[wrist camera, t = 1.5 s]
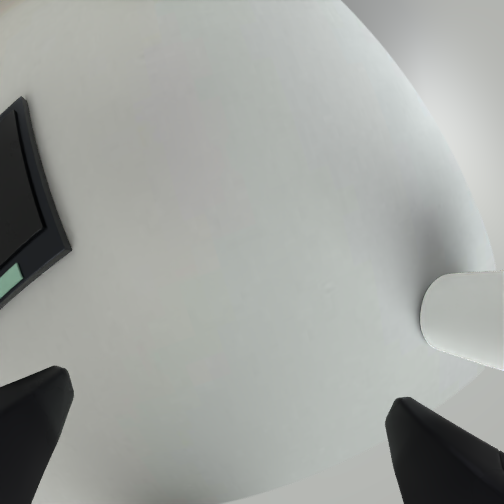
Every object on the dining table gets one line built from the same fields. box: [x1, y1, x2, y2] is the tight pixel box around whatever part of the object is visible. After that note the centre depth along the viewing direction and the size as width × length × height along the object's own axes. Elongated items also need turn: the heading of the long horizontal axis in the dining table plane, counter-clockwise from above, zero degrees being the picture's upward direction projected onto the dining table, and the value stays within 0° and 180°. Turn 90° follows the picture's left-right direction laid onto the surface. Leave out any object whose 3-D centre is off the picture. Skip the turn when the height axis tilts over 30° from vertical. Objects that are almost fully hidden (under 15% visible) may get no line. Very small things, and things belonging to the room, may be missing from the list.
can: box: [420, 270, 504, 371], centre depth 15 cm, size 6×6×12 cm
